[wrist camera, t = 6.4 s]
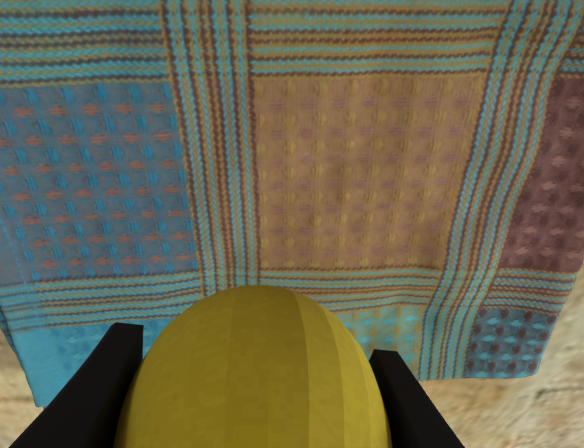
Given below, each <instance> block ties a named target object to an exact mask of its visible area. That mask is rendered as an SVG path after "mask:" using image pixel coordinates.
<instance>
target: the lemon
mask: <svg viewBox="0 0 584 448" xmlns="http://www.w3.org/2000/svg"><path fill="white" fill-rule="evenodd" d="M113 448H393V447H392V439H391V432H390V427H389V422H388V417H387V413H386V409H385V406H384V402H383V399H382V396H381V393H380V390H379V387H378V384H377V381H376V379H375V376H374V373H373V371H372V368H371V366H370V364H369V362H368V360H367V357H366V355H365V353H364V352H363V350H362V349H361V347H360V345H359V344H358V342H357V341H356V340H355V338H354V337H353V336H352V335H351V333H350V332H349V331H348V330H347V328H346V327H345V326H344V325H343V324H342V322H341V321H340V320H339V319H338V318H337V317H336V316H335V315H334V314H333V313H331V312H330V311H329V310H327V309H326V308H324V307H323V306H322V305H320V304H319V303H317V302H316V301H314V300H313V299H312V298H309V297H307V296H305V295H302V294H299V293H297V292H294V291H292V290H289V289H286V288H281V287H275V286H269V285H243V286H238V287H234V288H230V289H225V290H221V291H219V292H216V293H214V294H212V295H210V296H208V297H206V298H204V299H201V300H199V301H197V302H195V303H194V304H193V305H191V306H190V307H188V308H187V309H186V310H185V311H183V312H182V313H181V314H180V315H178V316H177V317H176V318H175V319H174V320H172V321H171V322H170V323H169V324H168V325H167V326H166V327H165V328H164V329H163V330H162V331H161V333H160V334H159V336H158V337H157V339H156V340H155V342H154V343H153V345H152V346H151V348H150V349H149V351H148V352H147V354H146V355H145V357H144V358H143V360H142V361H141V363H140V365H139V367H138V369H137V370H136V372H135V374H134V376H133V378H132V381H131V383H130V385H129V388H128V390H127V393H126V396H125V399H124V402H123V405H122V408H121V412H120V416H119V420H118V424H117V429H116V434H115V439H114V444H113Z"/></svg>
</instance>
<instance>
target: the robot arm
mask: <svg viewBox="0 0 584 448" xmlns="http://www.w3.org/2000/svg"><path fill="white" fill-rule="evenodd" d="M143 331H144V325H139V324H129V323H119V322H116V323H114V324H112V325H111V326H110V327H109V329H108V330H107V332H106V333H105V335H104V336H103V338H102V339H101V340H100V342H99V343H98V345H97V346H96V347H95V349H94V350H93V351H92V353H91V354H90V355H89V357H88V358H87V359H86V360H85V362H84V363H83V364H82V365H81V367H80V368H79V369H78V370H77V372H76V373H75V374H74V375H73V377H72V378H71V379H70V380H69V381H68V382H67V384H66V385H65V386H64V387H63V388H62V389H61V391H60V392H59V393H58V394H57V395H56V397H55V398H54V399H53V400H52V401H51V402H50V404H49V405H48V406H47V407H46V408H45V409H44V410H43V411H42V412H41V414H40V415H39V416H38V417H37V418H36V419H35V420H34V421H33V422H32V423H31V424H30V425H29V426H28V427H27V429H26V430H25V431H24V432H23V433H22V434H21V435H20V436H19V437H18V438H17V439H16V440H15V441H14V442H13V444H12V445H11V446H10V447H9V448H113V444H114V439H115V434H116V429H117V424H118V420H119V416H120V412H121V408H122V405H123V402H124V399H125V396H126V393H127V390H128V388H129V385H130V383H131V381H132V378H133V376H134V374H135V372H136V370H137V369H138V367H139V365H140V363H141V361H142V360H143ZM368 362H369V364H370V366H371V368H372V371H373V373H374V376H375V379H376V381H377V384H378V387H379V390H380V393H381V396H382V399H383V402H384V406H385V409H386V413H387V417H388V422H389V427H390V432H391V439H392V447H393V448H465V447H464V446H463V445H462V443H461V442H460V440H459V439H458V438H457V436H456V435H455V434H454V432H453V431H452V429H451V428H450V427H449V425H448V424H447V423H446V421H445V420H444V418H443V417H442V416H441V414H440V413H439V411H438V410H437V409H436V407H435V406H434V404H433V403H432V401H431V400H430V398H429V397H428V396H427V394H426V393H425V391H424V390H423V388H422V387H421V385H420V384H419V382H418V381H417V379H416V378H415V376H414V375H413V373H412V372H411V371H410V369H409V368H408V366H407V365H406V363H405V362H404V360H403V359H402V357H401V356H400V354H399V353H398V352H397V351H390V350H381V349H374V350H373V352H372V354H371V357H370V359H369V361H368Z"/></svg>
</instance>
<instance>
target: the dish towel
mask: <svg viewBox="0 0 584 448" xmlns="http://www.w3.org/2000/svg"><path fill="white" fill-rule="evenodd" d="M583 260H584V0H0V328H1V330H2V331H3V333H4V335H5V337H6V339H7V341H8V343H9V345H10V346H11V348H12V349H13V351H14V352H15V354H16V355H17V358H18V360H19V362H20V364H21V367H22V369H23V371H24V373H25V376H26V379H27V382H28V384H29V386H30V389H31V391H32V394H33V397H34V402H35V406H36V407H42V406H43V409H45V408H46V407H47V406H48V405H49V404H50V402H51V401H52V400H53V399H54V398H55V397H56V395H57V394H58V393H59V392H60V391H61V389H62V388H63V387H64V386H65V385H66V384H67V382H68V381H69V380H70V379H71V378H72V377H73V375H74V374H75V373H76V372H77V370H78V369H79V368H80V367H81V365H82V364H83V363H84V362H85V360H86V359H87V358H88V357H89V355H90V354H91V353H92V351H93V350H94V349H95V347H96V346H97V345H98V343H99V342H100V340H101V339H102V338H103V336H104V335H105V333H106V332H107V330H108V329H109V327H110V326H111V325H112V324H114V323H116V322H119V323H129V324H139V325H144V331H143V358H144V357H145V355H146V354H147V352H148V351H149V349H150V348H151V346H152V345H153V343H154V342H155V340H156V339H157V337H158V336H159V334H160V333H161V331H162V330H163V329H164V328H165V327H166V326H167V325H168V324H169V323H170V322H171V321H172V320H174V319H175V318H176V317H177V316H178V315H180V314H181V313H182V312H183V311H185V310H186V309H187V308H188V307H190V306H191V305H193V304H194V303H195V302H197V301H199V300H201V299H204V298H206V297H208V296H210V295H212V294H214V293H216V292H219V291H221V290H225V289H230V288H234V287H238V286H243V285H269V286H275V287H281V288H286V289H289V290H292V291H294V292H297V293H299V294H302V295H305V296H307V297H309V298H312V299H313V300H314V301H316V302H317V303H319V304H320V305H322V306H323V307H324V308H326V309H327V310H329V311H330V312H331V313H333V314H334V315H335V316H336V317H337V318H338V319H339V320H340V321H341V322H342V324H343V325H344V326H345V327H346V328H347V330H348V331H349V332H350V333H351V335H352V336H353V337H354V338H355V340H356V341H357V342H358V344H359V345H360V347H361V349H362V350H363V352H364V353H365V355H366V357H367V360H368V361H369V359H370V357H371V354H372V352H373V350H374V349H381V350H390V351H397V352H398V353H399V354H400V356H401V357H402V359H403V360H404V362H405V363H406V365H407V366H408V368H409V369H410V371H411V372H412V373H413V375H414V376H415V378H416V379H417V381H426V380H442V379H457V378H489V379H496V378H504V379H508V378H521V377H527V376H531V375H533V374H536V372H537V371H538V368H539V365H540V362H541V359H542V356H543V353H544V351H545V348H546V346H547V344H548V342H549V339H550V336H551V333H552V331H553V328H554V326H555V324H556V322H557V319H558V317H559V314H560V312H561V310H562V308H563V306H564V304H565V302H566V300H567V298H568V296H569V294H570V292H571V290H572V287H573V285H574V283H575V280H576V277H577V274H578V272H579V270H580V268H581V266H582V264H583Z"/></svg>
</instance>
